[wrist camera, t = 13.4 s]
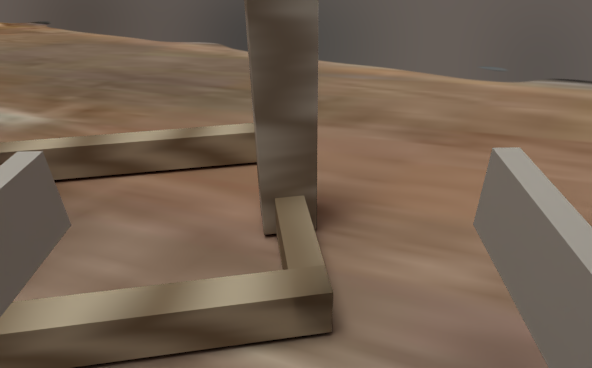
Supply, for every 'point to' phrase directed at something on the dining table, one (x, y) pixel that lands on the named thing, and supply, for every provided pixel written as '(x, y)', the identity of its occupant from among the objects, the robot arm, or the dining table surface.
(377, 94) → the dining table surface
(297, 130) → the open rectangular frame
